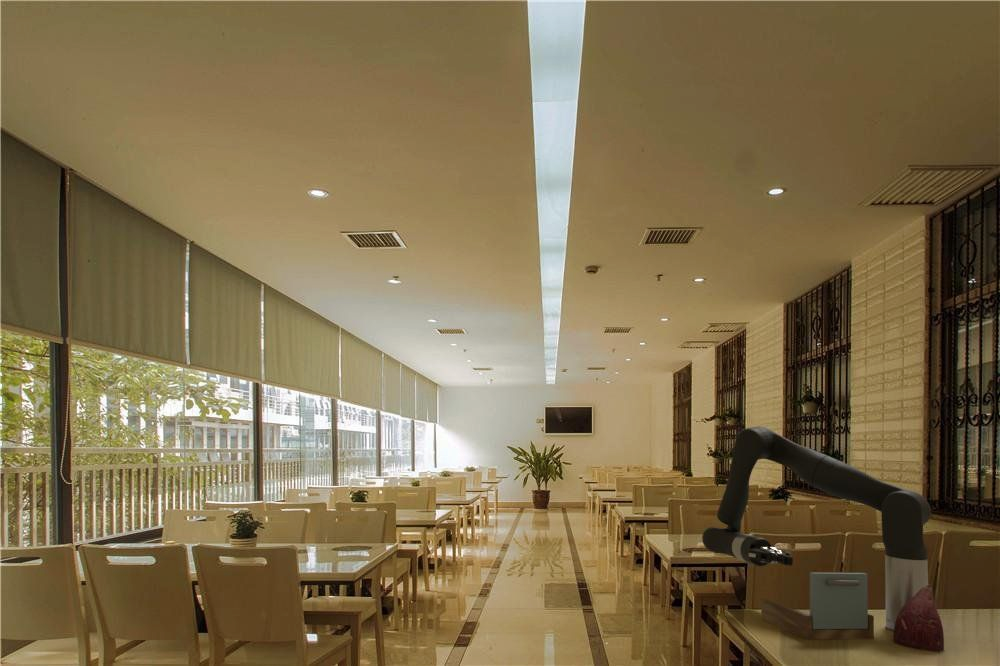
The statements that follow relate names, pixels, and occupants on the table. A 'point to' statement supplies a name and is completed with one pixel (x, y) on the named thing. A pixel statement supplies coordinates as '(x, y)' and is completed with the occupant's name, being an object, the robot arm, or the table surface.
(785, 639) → the table surface
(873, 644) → the table surface
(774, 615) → the brown wooden tray
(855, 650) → the table surface
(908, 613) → the vegetable
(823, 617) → the panel
